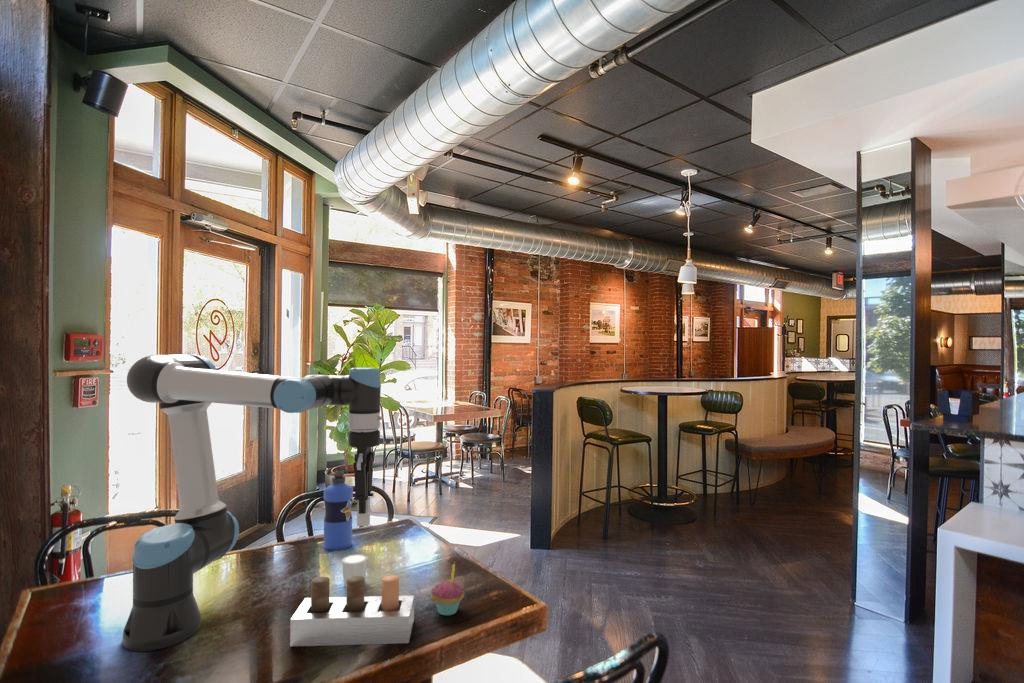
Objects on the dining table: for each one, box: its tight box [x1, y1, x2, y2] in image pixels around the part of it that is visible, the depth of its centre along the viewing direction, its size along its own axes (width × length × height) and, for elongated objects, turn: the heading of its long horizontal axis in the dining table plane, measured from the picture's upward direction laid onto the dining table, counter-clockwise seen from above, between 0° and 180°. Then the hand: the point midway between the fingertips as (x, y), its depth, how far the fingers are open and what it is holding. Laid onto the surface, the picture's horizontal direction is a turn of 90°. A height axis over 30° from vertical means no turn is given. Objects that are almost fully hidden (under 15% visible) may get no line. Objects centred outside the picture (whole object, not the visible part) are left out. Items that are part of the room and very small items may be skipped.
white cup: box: [341, 553, 368, 588], centre depth 149 cm, size 7×7×7 cm
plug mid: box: [345, 576, 365, 612], centre depth 123 cm, size 4×4×7 cm
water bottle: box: [323, 469, 354, 552], centre depth 177 cm, size 9×9×25 cm
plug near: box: [310, 576, 331, 613], centre depth 123 cm, size 4×4×7 cm
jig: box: [289, 595, 415, 648], centre depth 123 cm, size 26×10×6 cm, turn 94°
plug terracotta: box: [380, 574, 400, 611], centre depth 124 cm, size 4×4×7 cm
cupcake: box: [430, 561, 466, 616], centre depth 133 cm, size 9×8×12 cm
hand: (363, 524), depth 131 cm, fingers closed
